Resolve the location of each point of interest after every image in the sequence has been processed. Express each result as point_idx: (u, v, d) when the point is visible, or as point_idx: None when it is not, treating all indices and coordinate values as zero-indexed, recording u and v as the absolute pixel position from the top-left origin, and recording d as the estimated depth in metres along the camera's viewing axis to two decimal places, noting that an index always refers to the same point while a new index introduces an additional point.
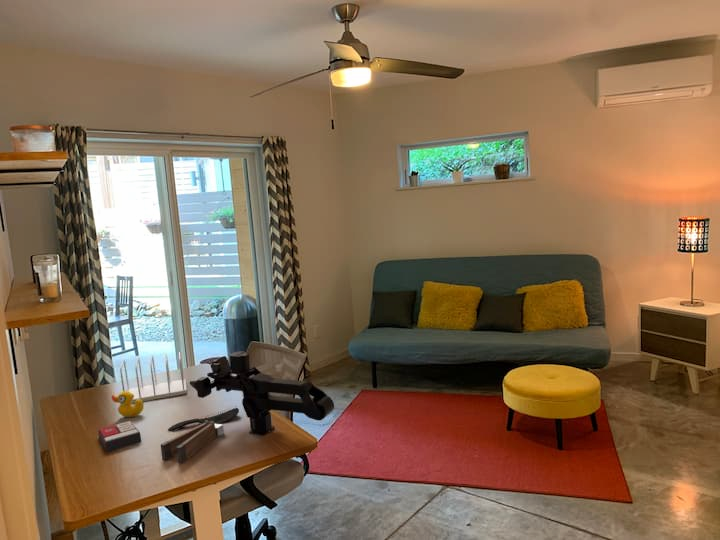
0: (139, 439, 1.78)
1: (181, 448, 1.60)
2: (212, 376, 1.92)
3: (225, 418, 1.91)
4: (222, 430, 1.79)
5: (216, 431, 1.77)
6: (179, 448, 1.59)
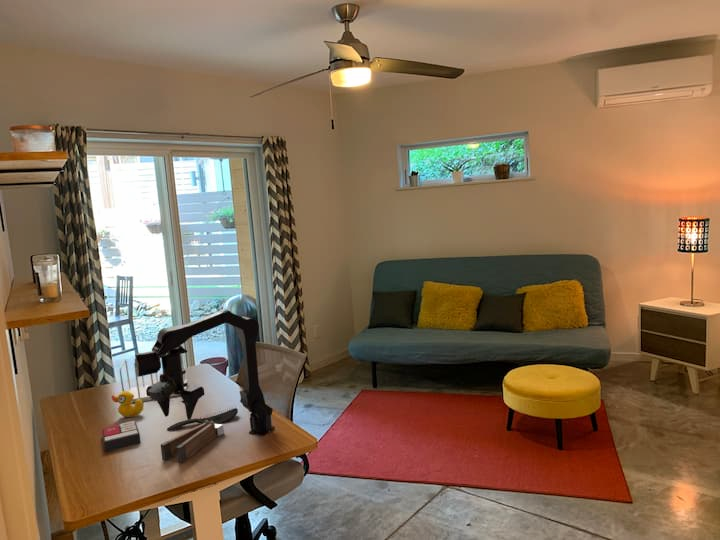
0: (138, 440, 1.77)
1: (181, 448, 1.60)
2: (167, 408, 1.66)
3: (224, 418, 1.91)
4: (222, 430, 1.79)
5: (216, 431, 1.77)
6: (179, 448, 1.59)
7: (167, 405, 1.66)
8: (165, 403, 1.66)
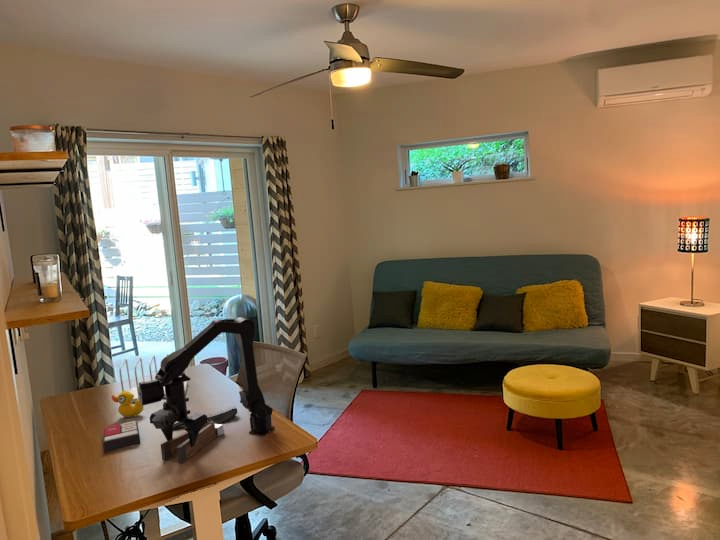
0: (138, 441, 1.76)
1: (181, 448, 1.60)
2: (170, 435, 1.67)
3: (223, 418, 1.91)
4: (222, 430, 1.79)
5: (216, 431, 1.77)
6: (179, 448, 1.59)
7: (170, 432, 1.67)
8: (169, 430, 1.67)
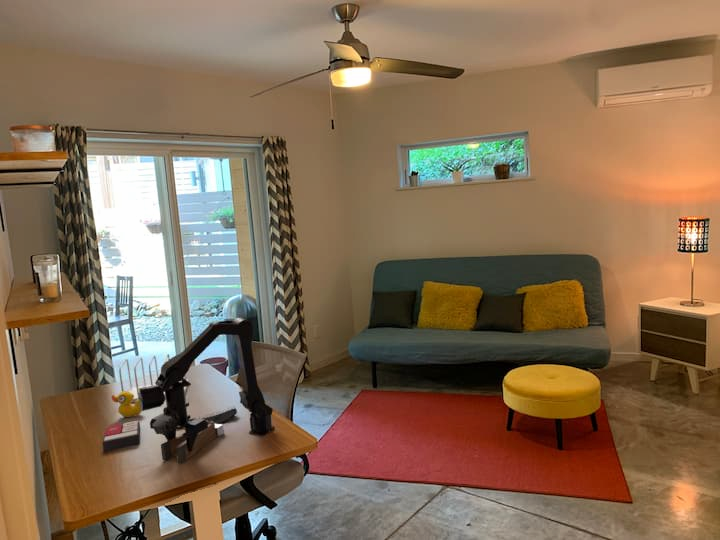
0: (137, 441, 1.76)
1: (181, 448, 1.60)
2: None
3: (223, 418, 1.91)
4: (222, 430, 1.79)
5: (216, 431, 1.77)
6: (179, 448, 1.59)
7: (173, 437, 1.67)
8: (172, 435, 1.67)
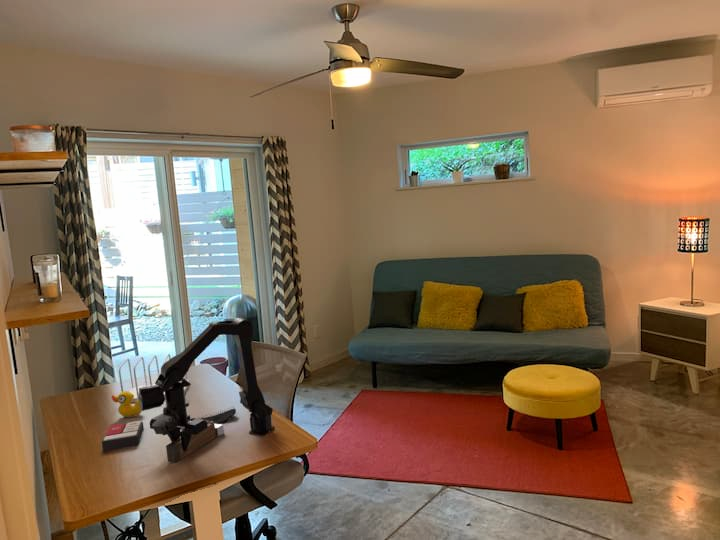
0: (136, 442, 1.75)
1: (174, 447, 1.60)
2: None
3: (222, 418, 1.91)
4: (222, 430, 1.79)
5: (216, 431, 1.77)
6: (172, 447, 1.60)
7: (177, 438, 1.66)
8: (176, 436, 1.66)
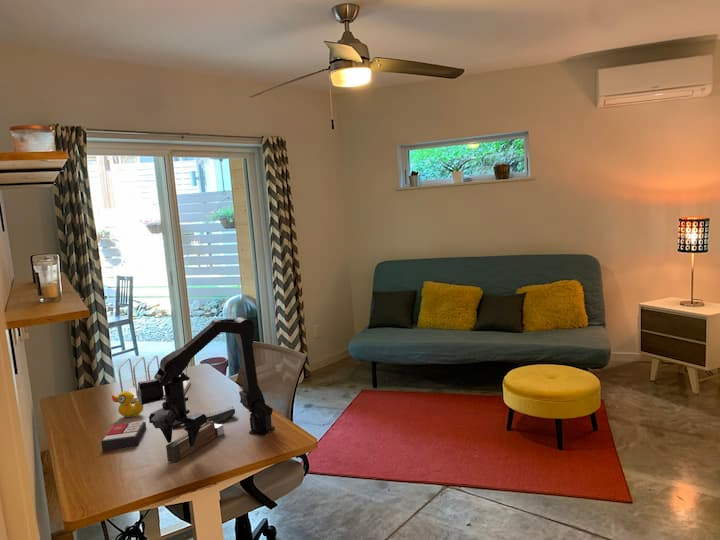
0: (135, 443, 1.75)
1: (174, 447, 1.60)
2: (170, 435, 1.67)
3: (221, 419, 1.91)
4: (222, 430, 1.79)
5: (216, 431, 1.77)
6: (172, 447, 1.60)
7: (170, 431, 1.67)
8: (168, 429, 1.67)
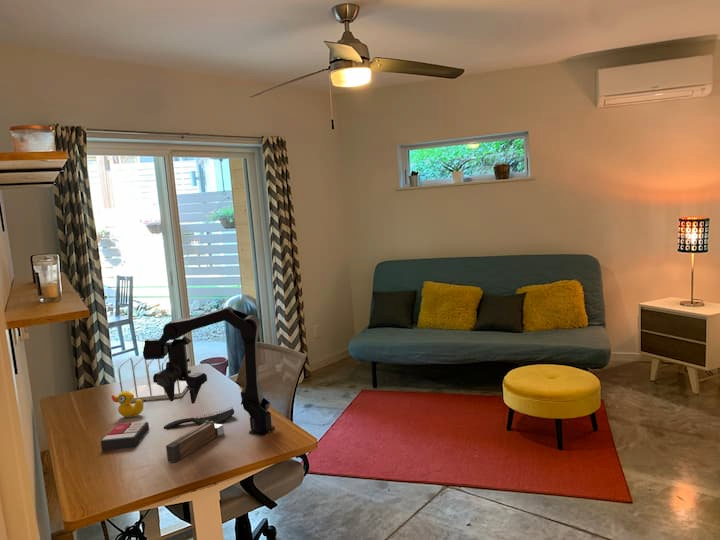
0: (133, 444, 1.74)
1: (174, 447, 1.60)
2: (172, 394, 1.81)
3: (220, 419, 1.91)
4: (222, 430, 1.79)
5: (216, 431, 1.77)
6: (172, 447, 1.60)
7: (172, 391, 1.81)
8: (171, 389, 1.80)
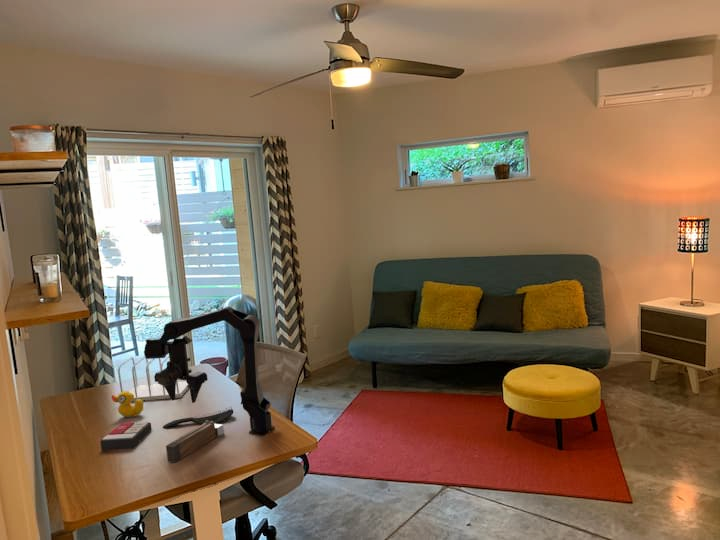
0: (131, 445, 1.73)
1: (174, 447, 1.60)
2: (173, 393, 1.82)
3: (219, 419, 1.91)
4: (222, 430, 1.79)
5: (216, 431, 1.77)
6: (172, 447, 1.60)
7: (173, 390, 1.82)
8: (172, 388, 1.82)
